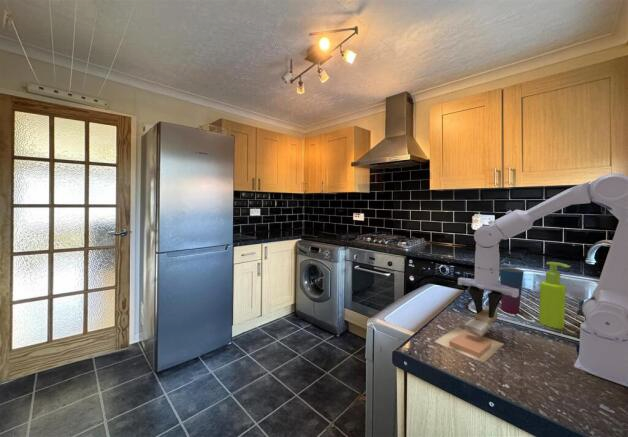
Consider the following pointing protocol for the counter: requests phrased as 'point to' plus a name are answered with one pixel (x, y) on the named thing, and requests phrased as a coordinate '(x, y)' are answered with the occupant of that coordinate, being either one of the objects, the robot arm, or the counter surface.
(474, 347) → the tile
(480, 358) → the cork mat
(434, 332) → the counter surface
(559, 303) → the soap dispenser
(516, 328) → the counter surface
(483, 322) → the turner
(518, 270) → the cup
